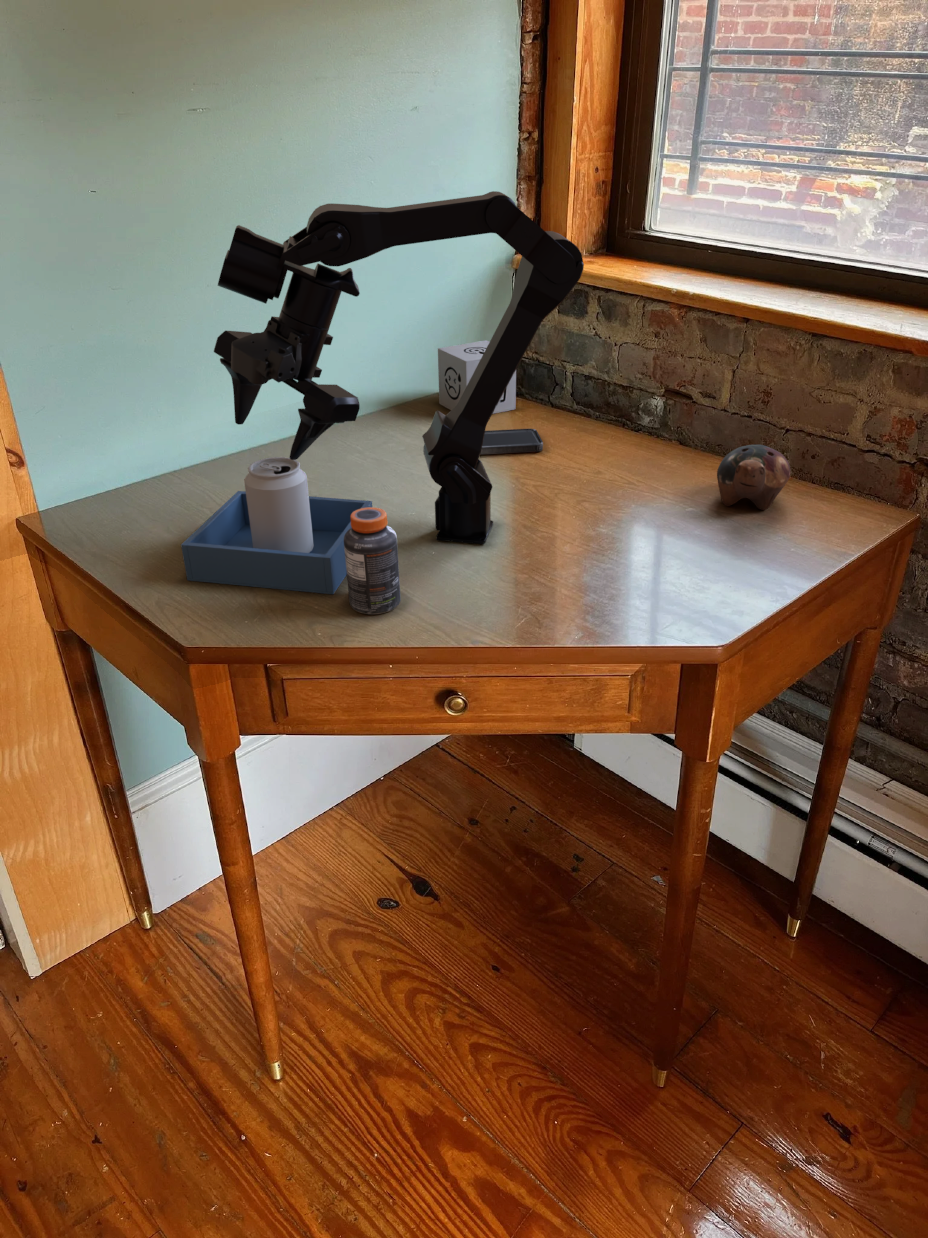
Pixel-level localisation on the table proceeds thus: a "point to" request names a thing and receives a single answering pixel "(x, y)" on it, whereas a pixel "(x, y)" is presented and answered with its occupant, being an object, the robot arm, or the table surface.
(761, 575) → the table surface
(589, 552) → the table surface
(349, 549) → the pill bottle
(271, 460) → the can
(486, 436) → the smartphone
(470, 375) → the icon cube
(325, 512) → the tub
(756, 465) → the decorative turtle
